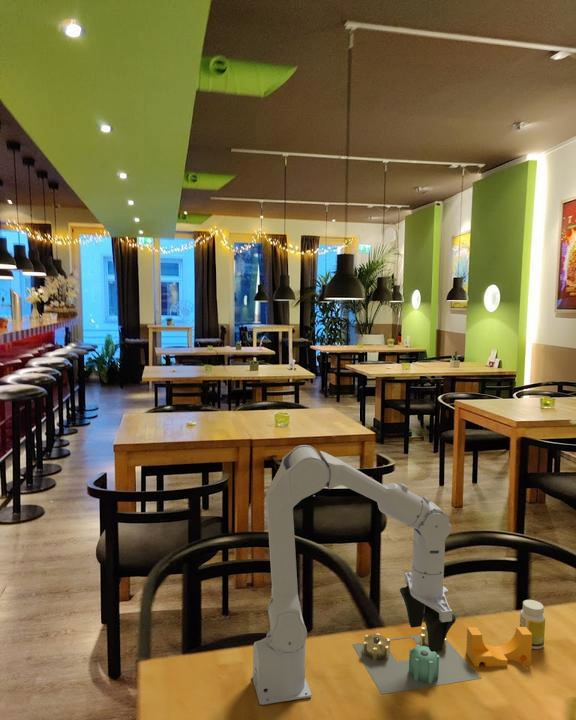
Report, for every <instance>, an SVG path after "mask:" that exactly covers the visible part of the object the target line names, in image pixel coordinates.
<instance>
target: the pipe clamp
mask: <svg viewBox="0 0 576 720" xmlns="http://www.w3.org/2000/svg"><path fill="white" fill-rule="evenodd" d="M466 629H467V630H466V647H465V649H466V650H465V653H466V655H467V656H468V658H469V659H470V661H471V663H472V665H473V666H474V667H480V663H482V664H483V665H484V666H485V667H508V662H509V661H516V662H517V663H519V665H521V666H531V662H532V649H533V648H532V634H531V632H530V631H529V630H528V629H527V628H526V627H520V626H516V629H515V632H514V635H513V636H512V637H511V639H510V640H509V641H508V642H506V643H504V644H502V645H496V646H493V645H489V644H487V643H485V642H484V640H483V634H482V632H481V631H480V630H479V628H478V627H477V626H474V627H472V626H471V627H469V626H468V627H467V628H466Z"/></svg>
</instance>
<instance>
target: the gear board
mask: <svg viewBox="0 0 576 720" xmlns="http://www.w3.org/2000/svg"><path fill="white" fill-rule="evenodd" d="M410 638H412V639H413V640H414V641H415V642H416V644H417V645H420V646H426V647H429V645H428V632H427V627H426V626H425V627H424V626H423V627H422V626H421V628H420V634H417V635H410V636H409V635H408V636H402V637H395V638H394V637H393V638H386V636H384V635H382V634H380V633H379V632H377V633H375V634H373V633H372V634H369V635H368V634H365V635H364V641H362V642H358V643H352V644H351V645H352V646H353V648H354V651H355V652H356V654H357V655H358V657H359V658H360V660H361V662H362V664H363V666H364V667H365V669H366V671H367V672H368V674H369V675H370V677H371V679H372V681H373V682H374V684H375V686H376V687H377V688H378V690H379V692H380V693H381V695H388V694H392V693H393V694H394V693H400V692H406V691H412V690H418V689H424V688H426V689H427V688H431V687H437V686H444V685H449V684H455V683H462V682H468V681H474V680H480V679H482V677H481V676H480V675H479V674H478V673H477V672H476V671H475V669H474V668H473V667H472V666H471V665H470V664H469V663H468V662H467V660H466V659H465V658H463V656H462V655H461V654H460V653H459V652H458V651H457V649H456V648H455V646H453V645H452V644H451V643H450V642H449V640H447V638H448V636H447V635H446V637H445V640H444V643H443V646H442V649H441V651H435V652H436V654H437V655H439V674H438V678H437V677H436V678H435V680H433V681H432V683H428V682H423V681H420V680H418V681H416V680H414V677H413V676H412V674H411V672H409V659H406V660H399V661H397V660H396V658H395V657H394V655H393V654H392V653H391V651H390V649H391V641H396V640H403V639H410Z"/></svg>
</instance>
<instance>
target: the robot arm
mask: <svg viewBox="0 0 576 720" xmlns="http://www.w3.org/2000/svg"><path fill="white" fill-rule="evenodd" d="M319 452H320V453H319ZM319 452H318V450H317V449H316V448H314V447H313V446H312V445H307V444H301V445H297V446H295V447H294V448H293V449H291V451H289V452H287V454H285V455H284V456H283V457H282V460H281V462H280V465H279V468H278V469H277V471H276V473H275V476H274V477H273V479H272V481H271V483H270V484H269V486H268V488H267V490H266V493H265V494H266V495H265V498H266V512H267V513H266V514H267V528H268V529H267V530H268V532H267V533H268V545H269V561H270V575H271V578H270V579H271V597H270V600H269V601H268V605H267V614H268V618H269V626H270V627H269V629H268V632H267V633H266V637H264V638H262V639H260V640H257V641H254V643H253V645H252V646H253V653H252V676H251V677H252V682H253V685H254V688H255V692H256V695H257V696H256V697H257V699H258V703H259V705H261V706H263V705H270V704H277V703H282V702H290V701H294V700H300V699H301V700H302V699H307V698H311V697H312V692H311V689H310V686H309V683H308V681H307V679H306V649H307V648H306V645H307V644H306V641H307V638H308V631H307V627H306V625H305V621H304V618H303V613H302V607H301V602H300V599H299V594H298V593H299V592H298V591H299V590H298V588H299V587H298V577H297V574H298V573H297V558H296V542H295V523H294V507H295V506H296V505H298V504H299V503H300V502H301V501H302V500H304V499H305V498H308V497H310V496H311V495H314V494H316V493H318V492H320V491H321V490H323V489H324V488H325V487H327V489H328V490H331V489H335V488H337V487H339V486H344V487H346V489H347V488H348V489H350V490H352V491H354V492H356V493H358V494H360V495H363V496H364V497H366V498H368V499H371V500H373V501H375V502H376V503H377V506H378V507H377V508H378V510H379V511H380V512H381V513H382V514H384V515H386V516H388V517H391V518H392V519H394V520H395V521H397V522H399V523H401V524H403V525H405V526H407V527H409V528H413V540H412V559H411V560H412V561H411V563H412V564H411V571H410V572H404V580H403V581H404V584H406V586H405V587H400V588H399V592H400V594H401V597H402V598H403V602H404V605H405V607H406V612H407V613H406V614H407V619H408V623H409V626H410V627H411V628H412V629H414V628H419V627H422V626H423V622H424V623H425V628H426V627H427V632H428V645H429V650H430V651H431V652H434V651H441V649H442V646H443V643H444V640H445V637H446V635H447V634H448V633H449V631H450V629H451V628H452V626H453V625H454V624H455V622H456V618H457V617H456V616H455V614H453V610H452V609H451V608H450V606H449V603H448V601H447V597H446V596H447V595H449V590H448V588H447V587H445V586H444V577H445V576H444V575H445V553H446V552H445V550H446V545H445V544H446V539H447V538H448V536H449V535H450V533H451V531H452V528H453V526H452V524H451V523H450V519H449V518H450V517H449V516H448V514H447V513H445V512H444V511H443V510H442V508H440V507H439V506H438V504H436V503H434V502H433V501H432V500H431V499H430V498H428V497H426V496H422V497H421V496H419V495H417V494H416V493H413V492H412V491H409V487H408V486H407V485H406V484H404V483H403V482H401V483H399V485H398V484H397V483H395V482H391V483H387V484H383V483H380V482H379V481H377V480H375V479H374V478H372V477H371V476H368V475H367V474H365V473H363V472H362V471H360V470H359V469H357V468H354V467H353V466H351V465H350V464H348V463H346V462H344V461H343V460H341V459H339V458H337V457H335V456H333V455H331V454H329V453H327V452H326V451H322V450H319ZM320 454H321V455H320ZM426 606H427V607H429V608H430V609H432V612H426V613H425V607H426ZM423 620H424V621H423Z"/></svg>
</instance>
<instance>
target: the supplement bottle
mask: <svg viewBox="0 0 576 720" xmlns="http://www.w3.org/2000/svg"><path fill="white" fill-rule="evenodd" d="M544 608H545V607H544V605H543V604H542V602H540V601H537V600H534V599H525V600H523V601H522V609H521V611H520V615H519V616H520V617H519V627H526V628H527V629H528V630H529V631H530V632H531V634H532V648H531V649H535V650H539V649H542V648H543V647H544V645H545V632H546V631H545V630H546V629H545V628H546V627H545V626H546V616H545V615H544V612H545V611H544V610H545V609H544Z"/></svg>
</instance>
